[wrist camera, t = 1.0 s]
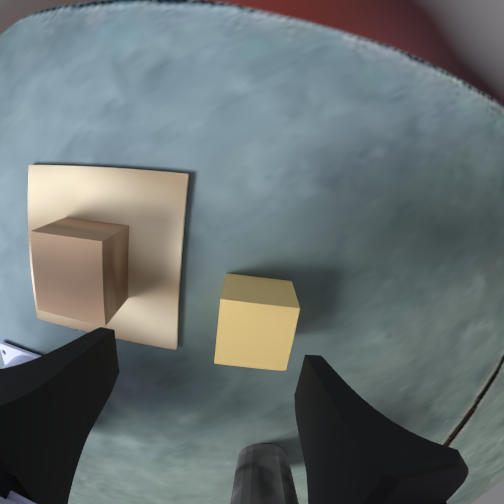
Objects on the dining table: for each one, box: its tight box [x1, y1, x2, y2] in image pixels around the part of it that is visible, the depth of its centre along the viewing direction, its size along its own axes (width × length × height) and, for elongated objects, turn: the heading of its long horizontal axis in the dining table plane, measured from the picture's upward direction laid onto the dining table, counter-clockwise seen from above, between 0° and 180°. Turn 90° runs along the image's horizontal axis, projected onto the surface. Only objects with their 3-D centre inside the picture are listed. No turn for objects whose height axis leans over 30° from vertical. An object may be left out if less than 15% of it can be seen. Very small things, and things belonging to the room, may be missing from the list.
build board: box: [28, 165, 190, 350], centre depth 20 cm, size 12×12×1 cm
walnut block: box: [30, 218, 129, 326], centre depth 18 cm, size 5×5×4 cm
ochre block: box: [214, 273, 300, 371], centre depth 19 cm, size 4×4×4 cm
